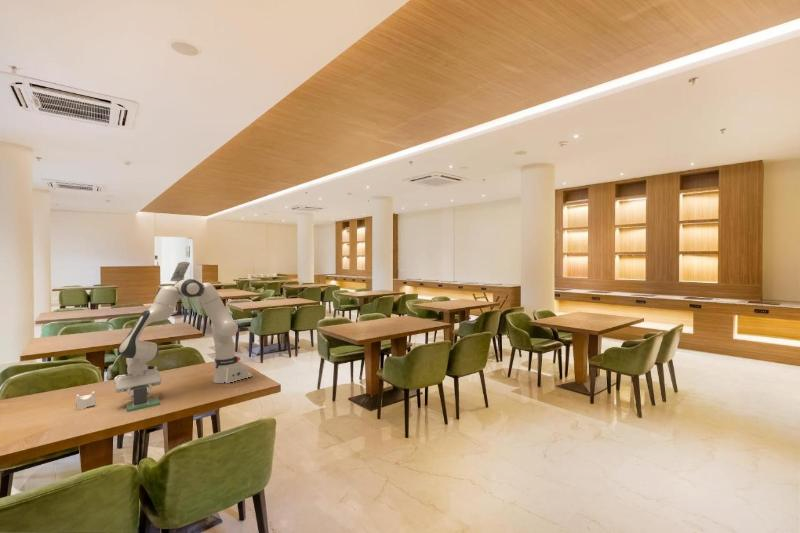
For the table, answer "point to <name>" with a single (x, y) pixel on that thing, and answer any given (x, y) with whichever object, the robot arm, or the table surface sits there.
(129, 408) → the header board
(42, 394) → the table surface
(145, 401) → the block
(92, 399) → the bracket
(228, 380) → the robot arm
